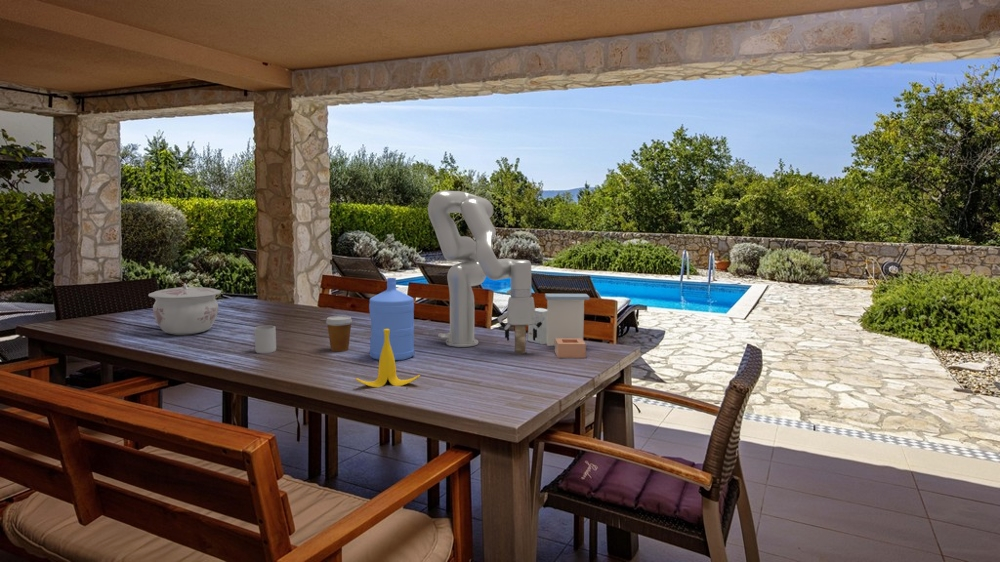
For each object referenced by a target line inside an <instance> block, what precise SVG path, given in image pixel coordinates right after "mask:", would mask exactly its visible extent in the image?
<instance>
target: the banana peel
mask: <svg viewBox="0 0 1000 562" xmlns="http://www.w3.org/2000/svg"><path fill="white" fill-rule="evenodd" d="M389 332H390V330H389V329H384V337H385V339H384V345H383V348H382V351H381V355H380V359H379V360H378V367H377V368H378V371H377V372H378V373H377V374H378V375H377V378H376V379H375V380H374V381H368V380H367V381H366V380H362V379H360V378H358V377H356V378H355V380H356V381H357V382H358V383H361V384H363V385H366V386H368V387H370V388H371V387H372V388H380V387H384V386H385V385H386V383H387V381H388V382H389V384H390V385H392V386H394V387H403V386H404V385H408V384H410V383H412V382H414V381H415V380H417V379H418V378H419V377H420V376H421V374H417V375H416V376H415V377H411V378H408V379H400V378H399V377H398V376H397V367H396V361H395V359H394V355H393V352H392V348H391V346H390V342H389Z"/></svg>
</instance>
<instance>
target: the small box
mask: <svg viewBox="0 0 1000 562" xmlns="http://www.w3.org/2000/svg"><path fill="white" fill-rule="evenodd" d="M535 313H537V314H539V315H541V316H543V317H544V318H545V319H544V321H543V323H542V325H541V326H540V327H539V328H538V329H537V338H535V341H534V340H533V328H534V327H533V326H532V325H527V327H528V330H527V333H528V335H527V341H528V342H531V343H535V344H540V345H544V344H545V345H547V308H543V307H538V308H537V307H535ZM539 321H540V319H539V318H537V317H535V324H537V323H538V322H539Z"/></svg>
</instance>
